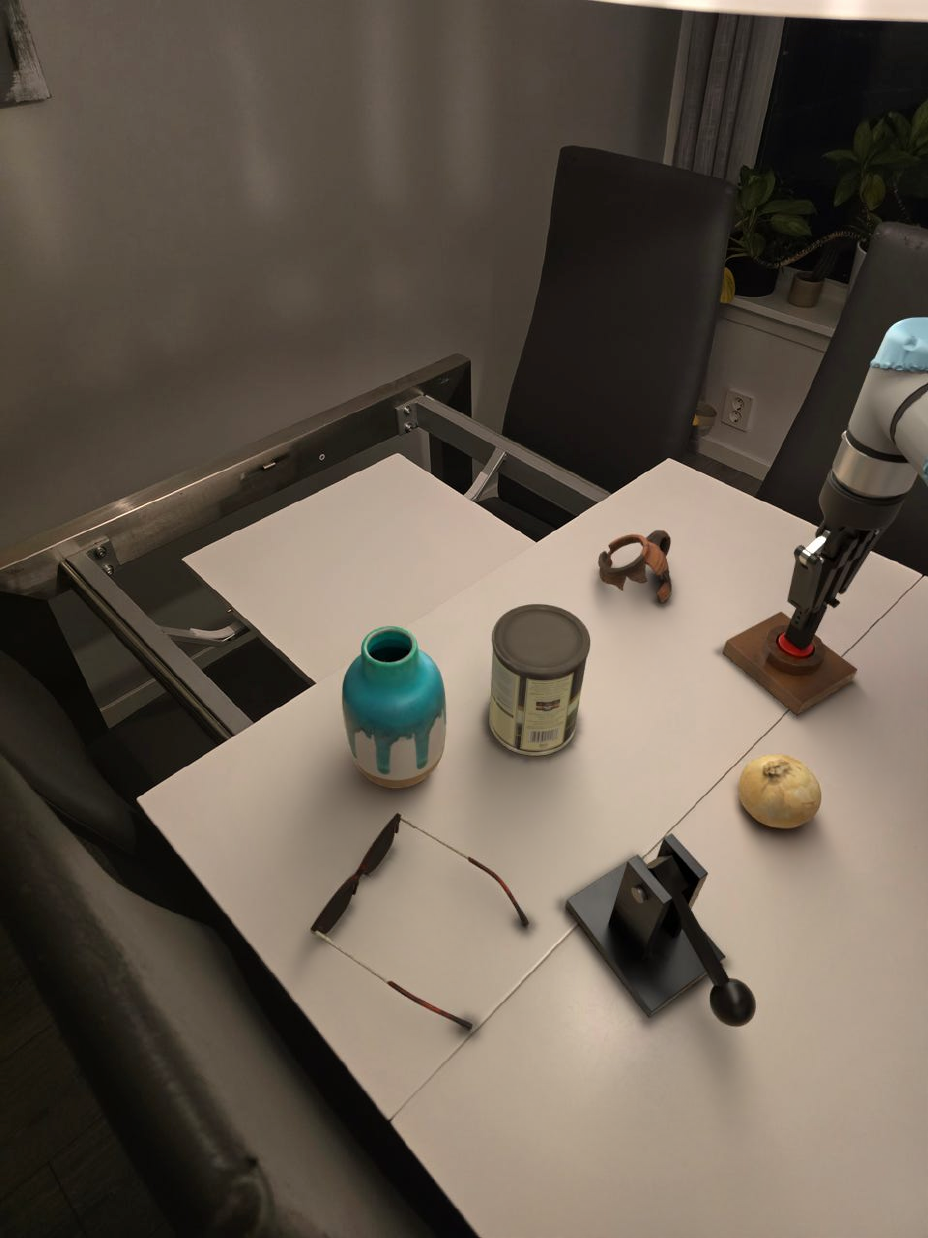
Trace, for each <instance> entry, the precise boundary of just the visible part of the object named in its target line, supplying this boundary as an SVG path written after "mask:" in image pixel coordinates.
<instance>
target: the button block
mask: <svg viewBox="0 0 928 1238" xmlns="http://www.w3.org/2000/svg"><path fill="white" fill-rule="evenodd" d="M791 619H792V617H789V616H788V615H787V614H785V613H784V612H783V611H779V612H777V613H775V614H773V615H771V616H770V617H768V618H766V619H764V620H762V621H759V623H757V624H755V625H753V626H751V627H749V628H747V629H746V630H744V631H742V632H739V633H738V634H736V635H734V636H732V637H731V638H728V639H726V641H725V644H724V647H723V649H722V653H723V654H724V655H725V656H726V657H727V658H729V659H730V660H731V661H732V662H733V663H735V665H737V666H738V667H739V668H740V669H742V670H743V671H744V672H745V673H746V674H748V675H749V676H750V677H751V678H752V679H753V680H754V681H756V682H757V683H758V684H759V685H760V686H762V687H763V689H765V690H766V691H768V692H769V693H770V695H772V696H774V698H776V699H777V700H778V701H779V702H780V703H782V704H783V705H784V706H785V707H786V708H787V709H789V710H790V711H791V712H792V713H793V714H795V716H797V715H799V714H801V713H803V712H804V711H805V710H808V709H809V708H810V707H812V706H813V705H815V704H818V703H819V702H821V700H824V699H825V698H826V697H828V696H830V695H831V694H833V693H835V692H836V691H838V690H840V689H841V688H843V687H845V686H846V685H848V684H850V683H852V681H853V679H854V678H855V675H856V674H857V672H858V670H859V669H858V668H856V667H855V666H854V665H852V664H851V663H850V662H848V661H847V660H846V659H845V658H843V657H842V656H841V655H839V654H838V653H837V652H835V651H834V650H833V649H832V648H830V647H829V646H828V645H826V644H825V643H824V642H823V641H822V639H821V638H820V636H818V635H817V634H815V635H814V637H813V640H812V643H813V651H812V653H811V655H810V657H809V658H805V659H796V658H793V657H791V656H788V655H786V654H785V653H783V652H782V651H781V650H780V649H779V648H778V646H777V642H778V640H779V638H780V636H781V635H782V634H783V633H785V632H786V630H787V628H788V626H789V623H790V621H791Z"/></svg>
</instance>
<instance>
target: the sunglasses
mask: <svg viewBox="0 0 928 1238" xmlns="http://www.w3.org/2000/svg"><path fill="white" fill-rule="evenodd" d="M401 822H403V823H405V825H407V826H410V827H411V828H412V829H417V830H419V831H420V832H421V833H423V834H425V835H426V836H428V837H429V838H431V839H433V840H434V841H436V842H438V843H440V844H441V845H443V846H445V847H446V848H448V849H450V850H451V851H453V852H455V853H456V854H458V855H460V856H461V857H463V858H464V859H466V860H467V861H468V862H469V863H471V864H472V865H474V866H475V867H477V868H479V869H480V870H482V871H483V872H485V873H486V874H487V875H489V876H490V877H492V879H493V880H495V882H497V883H498V884H499V885H500V886H501V888H502V889H503V891H504V892H505V894H506V895H507V897H508V899H509V900H510V902H511V903H512V905H513V907H514V908H515V910H516V912H517V915H518V917H519V919H520V921H521V923H522V926H523V927H528V926H529V925H530V922H529V921H528V918H527V916H526V915H525V913H524V911H523V909H522V908H521V906H520V904H519V903H518V901H517V900H516V898H515V896H514V895H513V893H512V891H511V890H510V888H509V887H508V885H507V883H506V882H504V881H503V879H502V878H501V877H500V876H499V875H498V874H497V873H496V872H494V871H493V870H492V869H491V868H489V867H488V866H486V865H484V864H482V863H481V862H479V861H478V860H476V859H474V858H472V857H471V856H469V855H467V854H465V853H464V852H462V851H460V850H458V849H456V848H455V847H453V846H452V845H450V844H448V843H446V842H445V841H443V840H441V839H440V838H438V837H436V836H435V835H433V834H432V833H430V832H428V831H426V830H425V829H424V828H422V827H420V826H418V825H417V824H416V823H414V822H413V821H411V820H409V819H407V818H406V817H405V816H402V814H401V813H399V812H396V813H395V814H394V816H392V818H391V819H390V820H389V821H388V822H387V824H386V825H385V826H384V827H383V828H382V830H381V831H380V833H379V834H378V835H377V837H376V838H375V840H374V841H373V842H372V844H371V846H370V847H369V849H368V850H367V852H366V854H365V855H364V856H363V858H362V860H361V862H360V864H359V866H358V868H357V869H356V871H354V873H353V874H352V875H350V876H349V877H348V878H347V879H346V880H345V881H344V883H343V884H341V886H340V887H339V888H338V889H337V891H335V892H334V894H333V895H332V897H330V899H329V900H328V902H327V903H326V905H325V906H324V907H323V909H321V912H320V913H319V914H318V916H317V918H316V919H315V921H314V922H313V923H312V925H311V927H310V928H309V931H310V933H311V934H313V935H314V936H317V937H318V938H319V939H321V940H323V941H324V942H325V943H327V944H329V945H330V946H332V947H333V948H335V949H336V950H338V951H339V952H340V953H342V954H344V955H345V956H346V957H347V958H349V959H351V960H352V961H354V962H355V963H357V965H360V966H361V967H362V968H363V969H365V970H367V971H368V972H370V973H371V974H373V975H374V976H376V977H377V978H378V979H380V980H381V981H383V983H385V984H386V985H388V987H390V988H391V989H394V990H395V991H397V992H398V993H399V994H401V995H402V996H403V997H405V998H407V999H409V1000H410V1001H412V1002H413V1003H416V1004H417V1005H419V1006H421V1007H423V1008H425V1009H427V1010H429V1011H431V1012H433V1013H435V1014H437V1015H439V1016H441V1017H443V1018H446V1019H448V1020H450V1021H451V1022H454V1023H456V1024H458V1025H460V1026H461V1027H463V1028H464V1029H467V1030H472V1029H473V1023H472V1022H470V1021H467V1020H465V1019H462V1018H460V1017H458V1016H456V1015H454V1014H452V1013H450V1012H447V1011H445V1010H444V1009H442V1008H439V1007H437V1006H435V1005H433V1004H432V1003H430V1002H428V1001H425V1000H424V999H422V998H420V997H418V996H416V995H414V994H412V993H411V992H409V991H407V990H406V989H404V988H403V987H401V986H400V985H399V984H398V983H396V982H395V981H393V980H388V979H387V978H386V977H384V976H382V975H381V974H380V973H378V972H376V971H375V970H374V969H372V968H371V967H369V966H367V965H366V964H365V963H363V962H362V961H360V960H359V959H357V958H356V957H354V956H353V955H352V954H351V953H348V952H347V951H346V950H344V949H343V948H341V947H340V946H338V945H336V944H335V943H334V942H333V941H332V940H331V939H330V938H329V937H327V936H326V935H328V934H329V933H330V932H331V931H332V930H333V929H334V928H335V926H337V924H338V923H339V921H340V920H341V918H342V917H343V916H344V915H345V913H346V911H347V910H348V908H349V906H350V903H351V901H352V898H353V896H356V893H357V891H358V887H359V884H360V881H361V878H362V877H363V876H366V877H369V876H370V875H372V874H373V873H374V872H376V870H377V869H378V868H379V866H381V864H382V862H383V861H384V859H385V858H386V857H387V855H388V853H389V851H390V850H391V848H392V846H393V844H394V840H395V836H396V835H398V833H399V831H400V830H399V829H400V823H401Z"/></svg>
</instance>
